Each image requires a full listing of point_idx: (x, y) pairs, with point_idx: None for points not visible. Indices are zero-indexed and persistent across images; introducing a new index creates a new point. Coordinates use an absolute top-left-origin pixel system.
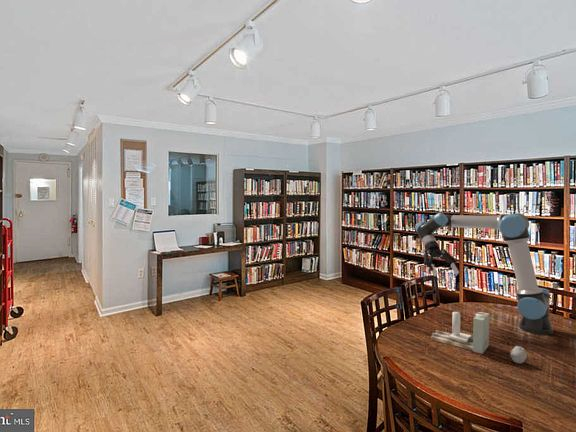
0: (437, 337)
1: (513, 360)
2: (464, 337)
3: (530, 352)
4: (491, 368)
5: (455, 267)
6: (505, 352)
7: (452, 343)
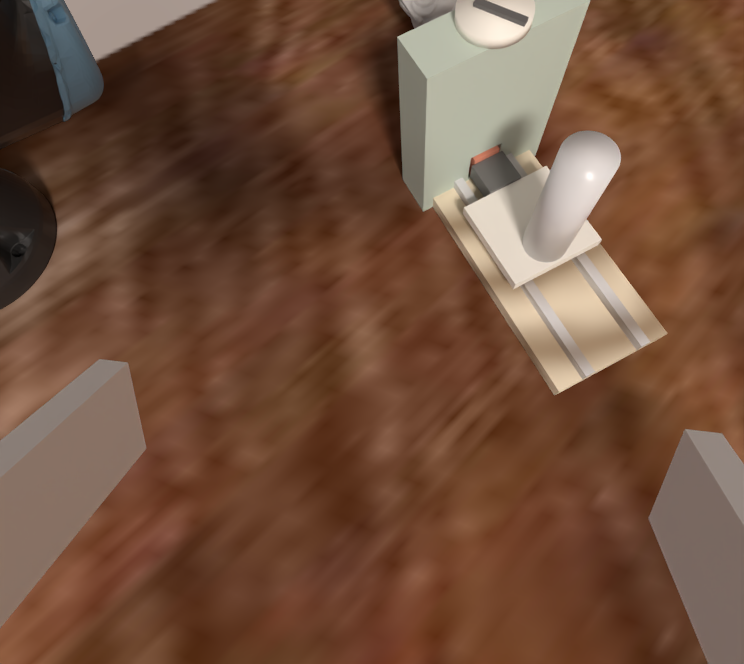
0: (633, 307)
1: None
2: (527, 197)
3: (291, 79)
4: (582, 28)
5: (22, 449)
6: (394, 107)
7: None
